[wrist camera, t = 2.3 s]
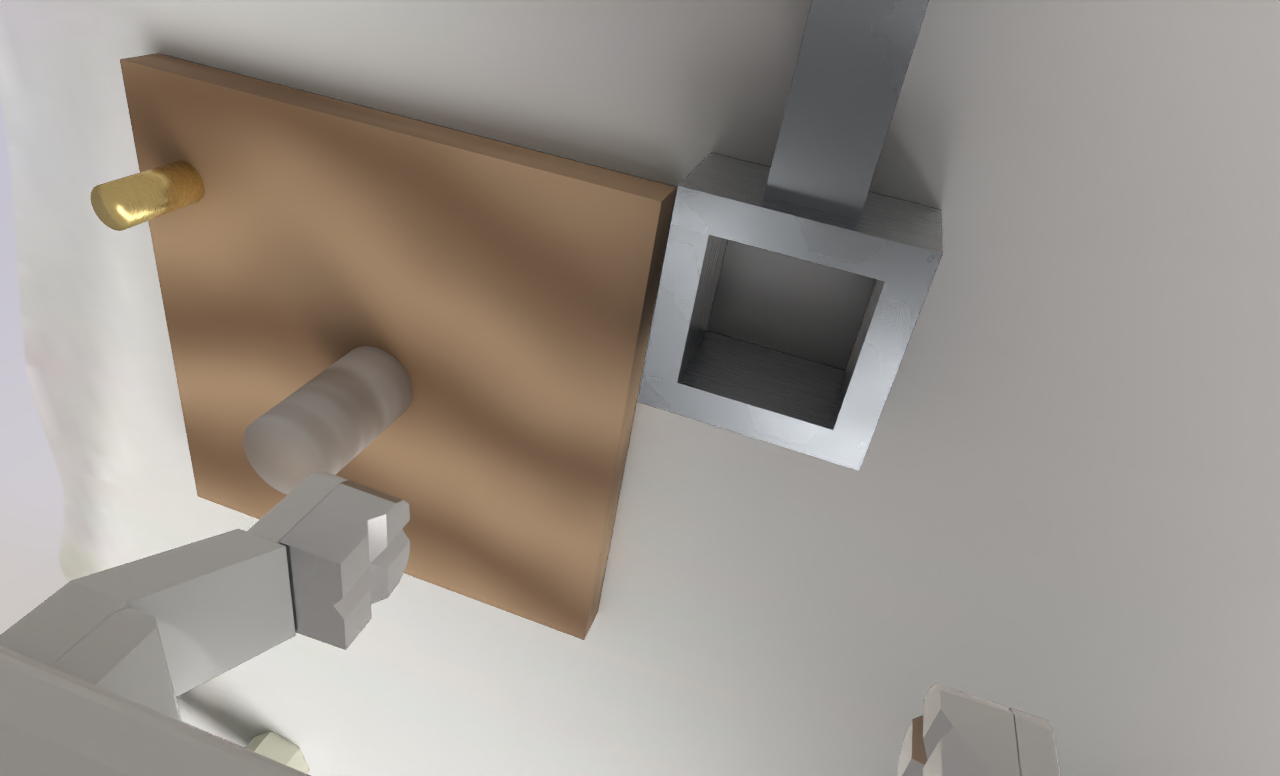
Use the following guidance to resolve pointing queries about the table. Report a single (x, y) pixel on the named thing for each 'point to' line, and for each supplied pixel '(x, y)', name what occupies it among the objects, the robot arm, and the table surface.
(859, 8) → the square loop paddle
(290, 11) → the table surface
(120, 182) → the dowel
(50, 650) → the robot arm
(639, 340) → the base
